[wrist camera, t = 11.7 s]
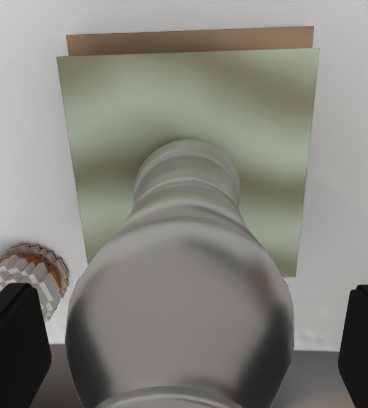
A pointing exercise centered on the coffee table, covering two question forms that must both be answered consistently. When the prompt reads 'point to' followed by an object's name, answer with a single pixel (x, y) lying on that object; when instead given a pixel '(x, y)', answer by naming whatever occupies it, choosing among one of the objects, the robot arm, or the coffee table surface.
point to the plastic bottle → (181, 296)
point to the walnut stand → (193, 120)
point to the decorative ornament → (36, 275)
